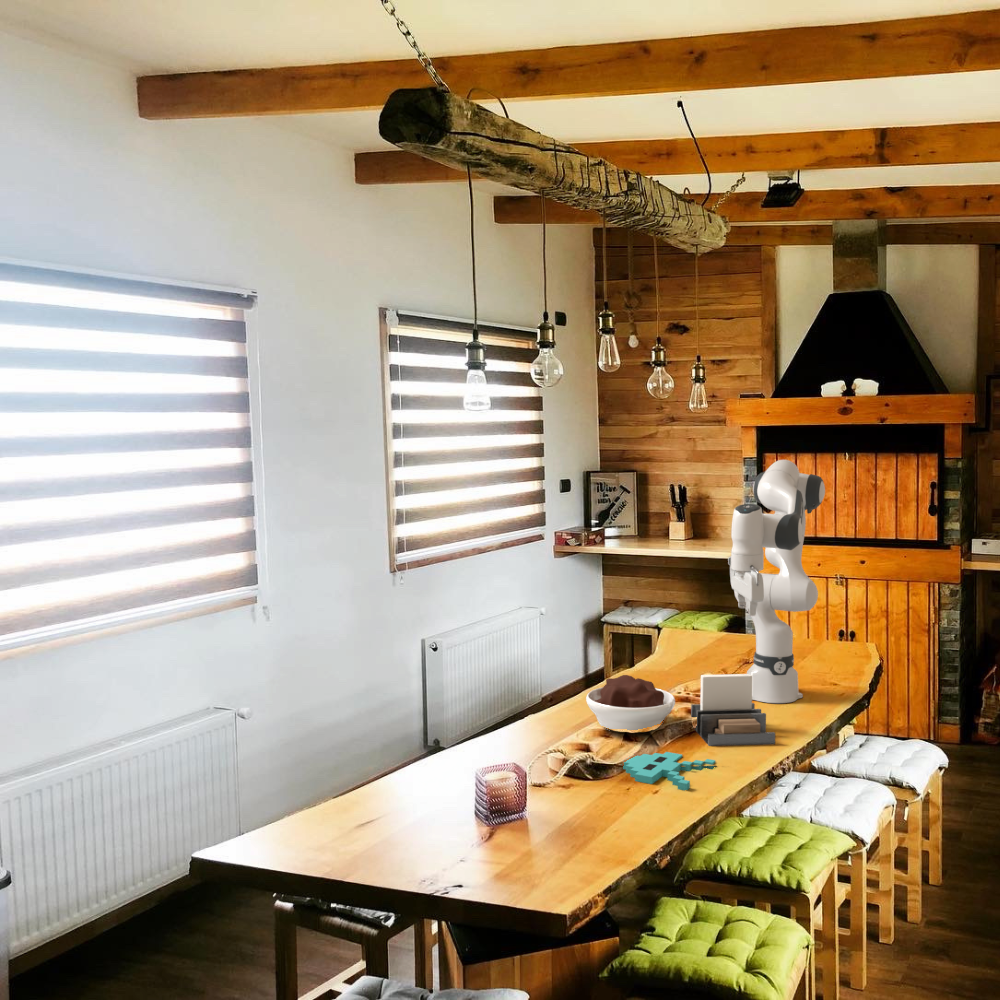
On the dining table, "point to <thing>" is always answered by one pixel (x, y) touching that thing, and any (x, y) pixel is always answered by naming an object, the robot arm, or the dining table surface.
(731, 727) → the offcut upper
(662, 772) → the alien figure
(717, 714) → the rack
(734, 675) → the tall sheet
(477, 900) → the dining table surface
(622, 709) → the bowl of chocolate
